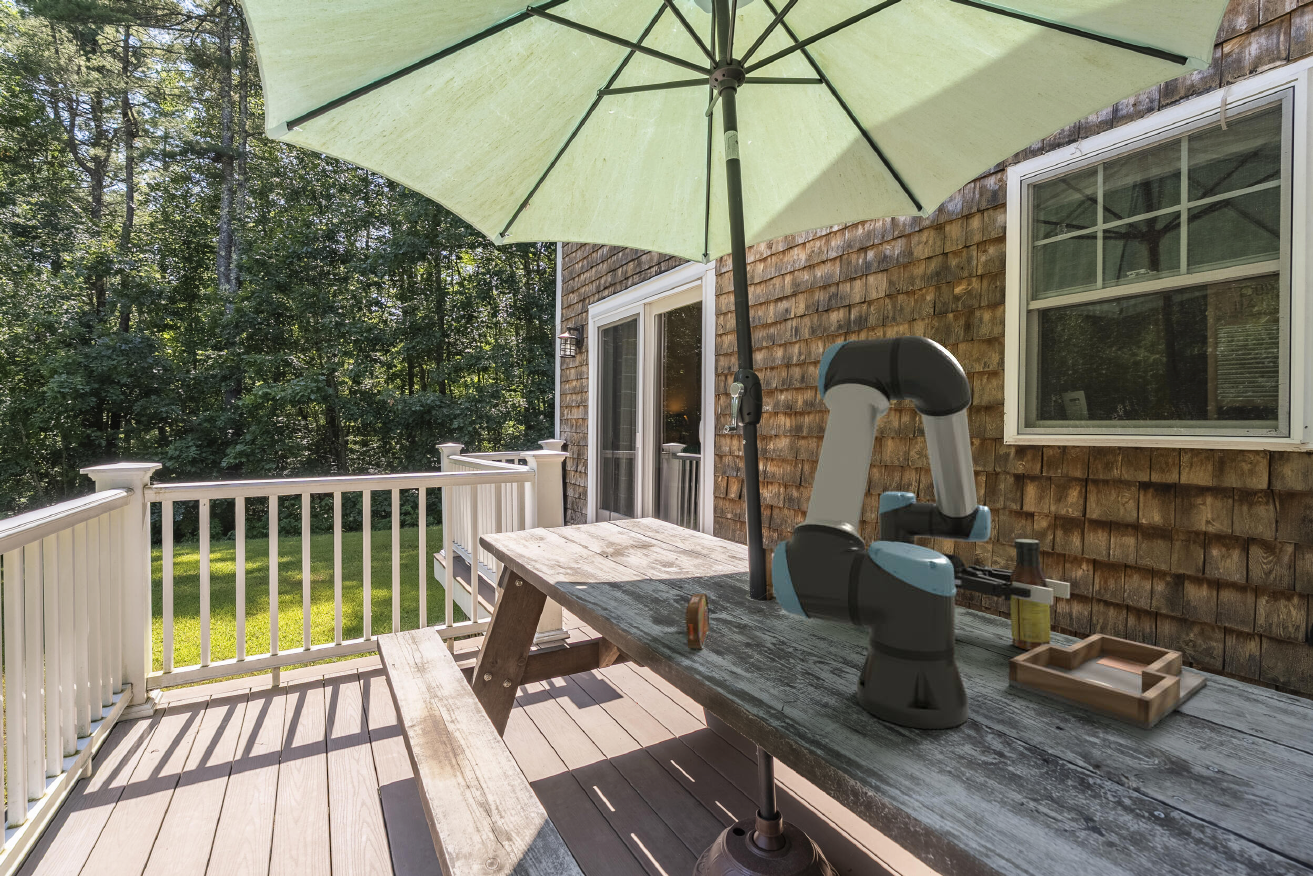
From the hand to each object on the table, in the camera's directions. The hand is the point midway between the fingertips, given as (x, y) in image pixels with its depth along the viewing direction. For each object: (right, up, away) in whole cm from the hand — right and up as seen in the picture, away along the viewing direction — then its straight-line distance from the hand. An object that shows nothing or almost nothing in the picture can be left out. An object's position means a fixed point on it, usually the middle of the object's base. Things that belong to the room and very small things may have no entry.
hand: (1060, 594), depth 110 cm
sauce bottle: (-3, -11, +4) cm, 12 cm away
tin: (-65, -12, +9) cm, 66 cm away
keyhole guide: (-1, -11, -13) cm, 17 cm away
